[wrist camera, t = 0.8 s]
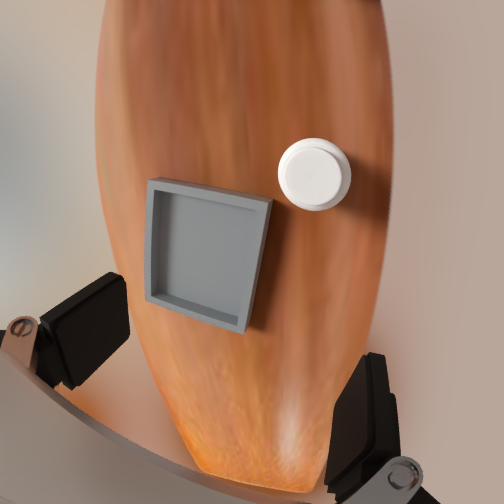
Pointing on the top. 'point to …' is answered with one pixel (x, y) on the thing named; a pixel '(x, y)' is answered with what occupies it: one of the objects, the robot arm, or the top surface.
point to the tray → (204, 250)
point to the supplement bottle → (314, 174)
